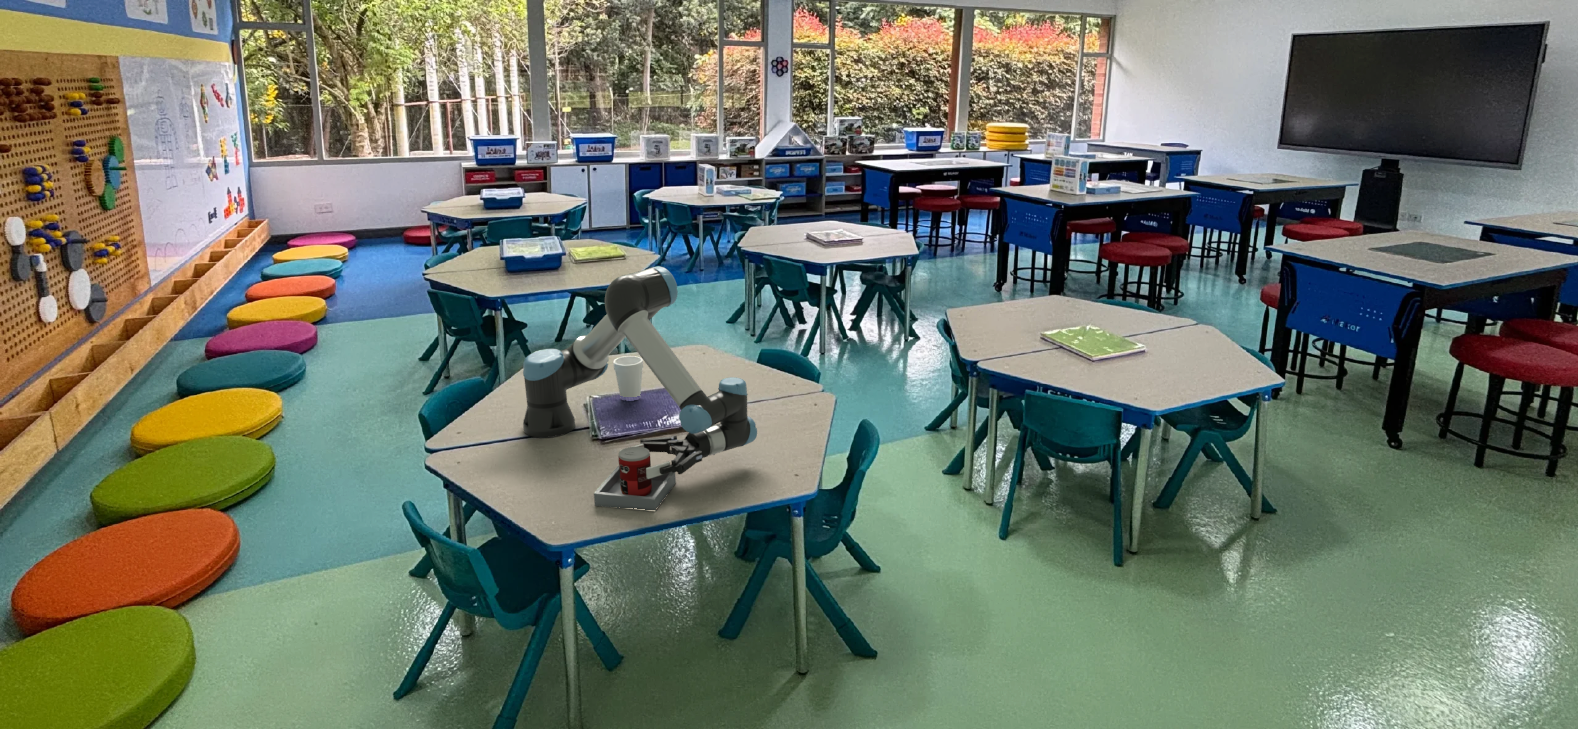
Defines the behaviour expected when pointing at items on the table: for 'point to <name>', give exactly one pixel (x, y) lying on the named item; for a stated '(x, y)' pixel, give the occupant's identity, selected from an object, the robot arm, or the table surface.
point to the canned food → (634, 471)
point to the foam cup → (629, 375)
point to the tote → (613, 496)
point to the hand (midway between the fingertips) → (633, 464)
